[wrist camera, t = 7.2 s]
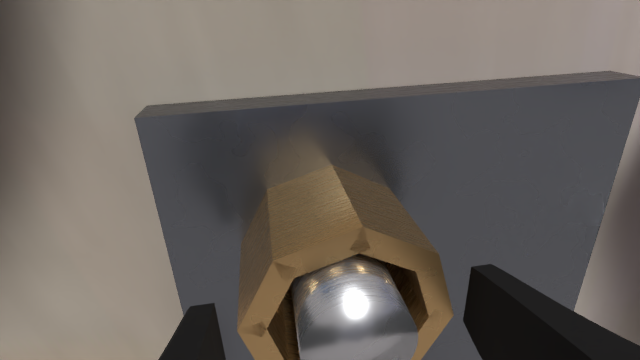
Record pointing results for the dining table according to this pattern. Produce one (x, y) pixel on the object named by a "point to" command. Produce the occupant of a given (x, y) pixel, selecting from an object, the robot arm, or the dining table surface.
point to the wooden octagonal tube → (332, 256)
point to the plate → (406, 184)
